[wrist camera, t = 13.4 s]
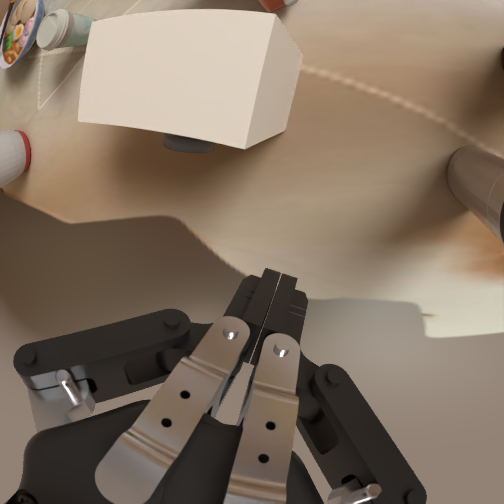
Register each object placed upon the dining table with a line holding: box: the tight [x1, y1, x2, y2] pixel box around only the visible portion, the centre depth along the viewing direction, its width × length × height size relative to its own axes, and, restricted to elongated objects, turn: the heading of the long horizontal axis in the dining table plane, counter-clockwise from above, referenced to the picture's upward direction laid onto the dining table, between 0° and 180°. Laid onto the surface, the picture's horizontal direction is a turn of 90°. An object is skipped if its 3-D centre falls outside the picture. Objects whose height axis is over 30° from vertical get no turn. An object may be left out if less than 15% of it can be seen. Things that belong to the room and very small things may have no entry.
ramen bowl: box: [0, 0, 44, 69], centre depth 33 cm, size 25×23×8 cm
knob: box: [164, 133, 215, 153], centre depth 31 cm, size 6×9×6 cm
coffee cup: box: [37, 9, 98, 51], centre depth 31 cm, size 9×9×12 cm
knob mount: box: [78, 9, 303, 149], centre depth 29 cm, size 20×12×20 cm, turn 78°
